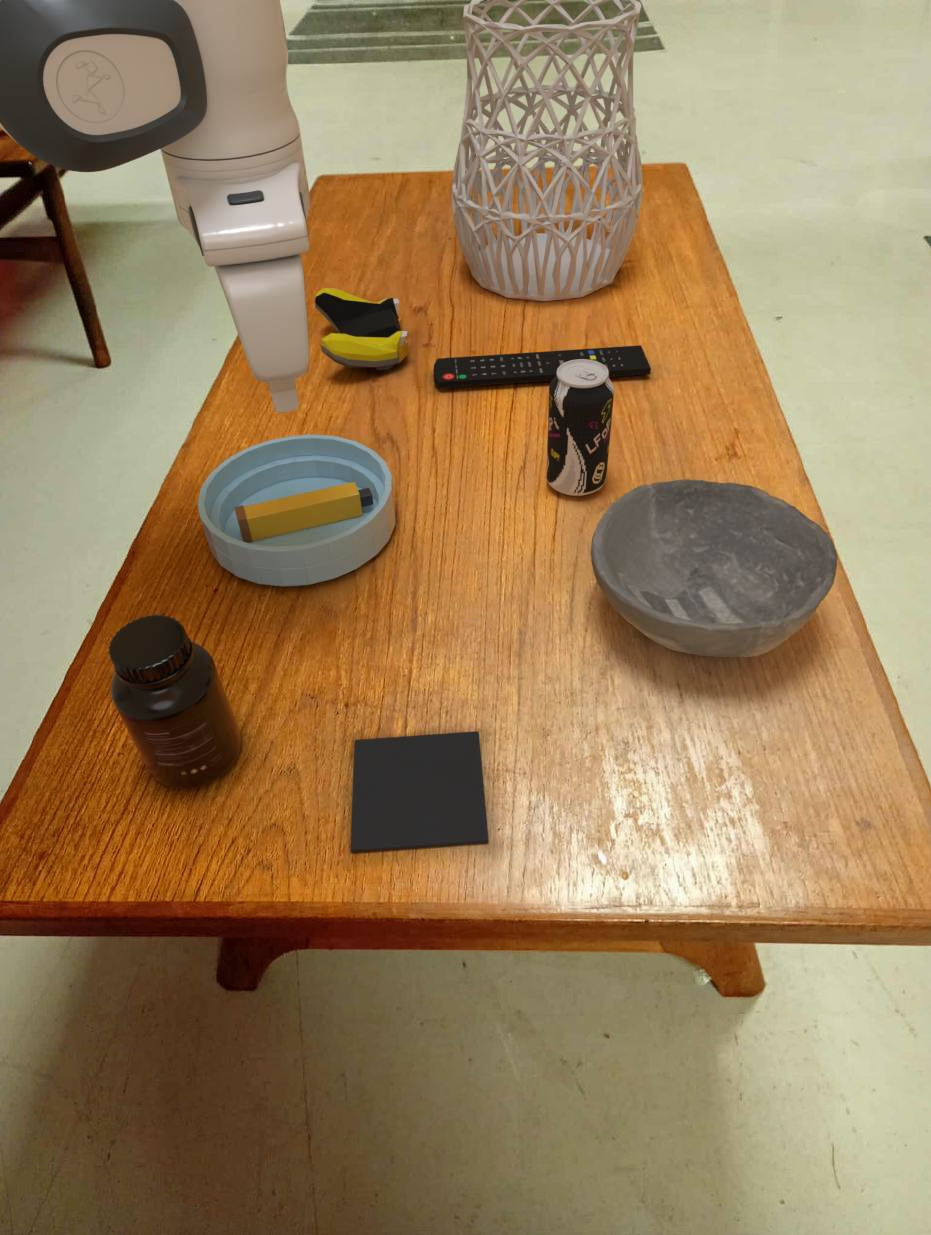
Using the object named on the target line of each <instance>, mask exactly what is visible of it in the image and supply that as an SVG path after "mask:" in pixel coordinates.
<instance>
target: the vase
mask: <svg viewBox="0 0 931 1235" xmlns="http://www.w3.org/2000/svg"><path fill="white" fill-rule="evenodd" d="M541 1H542V2H544V3H547V4H549V5H548V6H547V7H546V8H544V10H542V11H541V12H540V13H539V14H538V15H537V16H536V17H535V18H533V19H532V18H531V17H530V16H529V15H528V14H527V13H526V12H525V11H523V9H522V8H520V6H522V5H523V4H525V3H526V2H528V0H516V1H514V2H511V1H510V0H471V1H470V3H468V4H465V5H463V16H462V18H463V25H464V36H465V37H464V38H465V45H466V46H465V48H466V90H465V100H464V109H463V118H462V125H461V132H460V140H459V144H458V147H457V152H456V157H455V162H454V166H453V174H452V184H451V207H452V215H453V221H454V222H453V223H454V230H455V233H456V235H457V238H458V242H459V246H460V249H461V251H462V254H463V257H464V259H465V261H466V262H465V263H466V264H467V267H468V268H469V270H470V275H471V276H472V277H473V279H474V280H475V281H476V282H477V283H478V285H479V286H480V287H481V288H483V289H486V290H488V291H490V292H492V293H495V294H497V295H500V296H502V297H504V298H507V299H515V300H516V299H517V300H526V301H536V302H552V301H561V300H570V299H579V298H584V297H585V296H587V295H588V296H589V295H590V294H592V293H594V292H597V291H598V290H600V289H602V288H605V287H607V286H609V285H612V283H613V281H614V280H615V277H616V275H617V273H618V271H619V269H620V268H621V266H622V265H623V263H624V261H625V258H626V255H627V253H628V251H629V248H630V246H631V243H632V241H633V239H634V236H635V234H636V232H637V228H638V222H639V217H640V210H641V206H642V201H643V165H642V159H641V153H640V150H639V143H638V142H639V141H638V136H637V132H636V130H637V129H636V128H637V127H636V126H637V118H636V114H635V112H636V110H635V107H634V48H635V47H634V46H635V42H636V41H635V40H636V36H637V31H638V27H639V22H640V15H641V14H640V13H641V9H642V3H641V2H640V1H638V0H623V1H624V2H627V3H628V4H627V5H626V6H625V7H624V5H623V4H622V2H621V0H612V2H613V3H614V4H615V5H616V7H617V8H619V9H620V12H618V14H617V15H616V16H614V17H613V18H607V19H606V18H605V16H604V14H603V12H602V10H601V8H600V7H599V6H602V5H604V4H606V3H608V2H610V1H611V0H594V1H593V0H582V1H583V2H585V3H586V4H588V5H587V7H586V8H585V9H583V11H581V13H580V14H579V15H578V16H577V17H575V19H573V18H572V17H571V16H570V14H569V13H567V11H566V10H565V9H564V7H563V6H562V5H561V4H562V3H564V2H566V1H567V0H541ZM496 3H497V4H500V5H502V6H504V7H506V8H508V9H507V10H506V11H505V13H504V14H503V15H502V17H501V19H500V20H499V22H498V21H493V19H492V18H491V17H489V15H488V14H487V13H488V11H489V10H491V9H492V7H493V6H494V5H495V4H496ZM482 4H485V5H484V7H483V9H481V8H480V7H479V5H482ZM553 9H554V10H555V11H557V13H559V15H560V16H561V17H562V18H563V19H564V20H565V21H566V22H567V23H568V25H566V24H562V23H559V24H558V23H557V24H552V23H551V24H540V23H541V22H542V21H543V20H544V19H545V18H546V17H547V16H548V15H549V14H550V13H551V12H552V10H553ZM630 10H631V11H630ZM592 11H593V12H594V14H595V15H596V16H597V18H598V19H599V20H594V21H586V22H581V21H582V20H583V19H584V18H585V17H586V16H587V15H588V14H590V13H591V12H592ZM473 12H474V13H475V14H476V15H478V16H475V15H473ZM514 12H516V13H517V15H519V16H520V18H522V19H523V20H524V22H526V24H527V25H528V26H522V25H520V24H516V23H511V22H509V23H508V20H509V19H510V18H511V17H512V16H513V14H514ZM623 23H624V24H623ZM594 28H596V29H597V28H600V29H599V30H598V31H597V32H596V33H595V34H594V35H593V34H591V33H590V32H589V31H586V30H587V29H594ZM613 28H616V29H618V30H620V31H621V32H620V33H619V34H618V36H617V38H616V40H615V38H614V34H613V30H612V29H613ZM485 30H486V31H488V33H489V34H490V35H491V38H490V40H489V44H488V47H487V50H486V49H485V47H484V44H483V43H482V42H481V40H480V38H479V34H480V33H482V32H483V31H485ZM502 30H505V31H510V32H508V33H506V34H504V33H503V31H502ZM544 32H545V33H546V32H549V33H550V32H551V33H553V32H554V33H555V34H554V35H551V36H550V37H548V38H547V37H545V36H544V35H543V33H544ZM557 32H558V33H557ZM571 33H572V34H575V37H576V38H577V40H578V42H579V44H580V46H581V47H580V48H578V49H577V51H576V52H575V53H574V54H573V55H572V56H571V57H569V56H568V55H567V54H565V52H563V51H562V49H561V47H562V45H563V44H564V43H565V42H566V39H567V38H568V37H569V35H571ZM521 35H523V37H522V38H521V39H520V40H521V41H520V42H519V43H518V46H517V48H515V46H514V45H513V44H512V43H511V42H510V41H511V40H513V39H515V38H517V37H518V36H521ZM529 37H531V38H534V39H536V40H538V41H540V44H539V45H538V46H537V47H536V48H535V49H534V50H532V52H530V54H528V55H527V56H526V57H525V58H523V56H522V54H520V53H521V51H522V49H523V48H524V46H525V44H526V42H527V40H528V39H529ZM606 37H608V41H609V44H610V50H609V49H608V48H607V47H606V46H605V45H604V44H603V42H604V41H605V39H606ZM624 38H625V40H624V43H623V46H622V48H621V52H620V54H619V51H618V48H619V47H620V45H621V43H622V41H623V39H624ZM555 42H557V43H556V44H555ZM592 45H593V47H592V48H591V50H590V47H591V46H592ZM502 47H503V48H504V49H505V51H506V52H507V54H508V55H509V58H510V60H509V62H508V65H507V68H506V70H505V72H504V75H503V78H502V80H501V79H500V77H499V75H498V72H497V70H496V67H495V66H494V63H493V60H492V58H493V57H495V55H497V53H498V52H499V51H500V50H501V49H502ZM599 50H600V51H601V52H602V53H603V55H605V58H604V60H603V61H602V63H601V65H600V67H599V69H598V68H597V65H596V62H595V59H594V58H595V56H596V54H597V53H598V51H599ZM544 51H546V52H547V54H548V55H549V56H548V58H547V59H546V62H545V64H544V66H543V68H542V70H541V72H540V74H539V76H538V78H537V77H536V75H535V74H534V72H533V71H532V69H531V67H530V66H529V64H530V63H531V62H532V61H533V60H534V59H536V58H537V57H538V56H539V55H540V54H541V53H543V52H544ZM475 54H476V56H477V58H478V61H479V64H480V70H479V71H478V72H479V73H478V72H477V67H476V60H475V57H476V56H475ZM583 54H586V56H587V58H586V60H585V63H584V65H583V68H582V69H581V72H579V71H578V69H577V67H576V65H575V64H574V62H575V61H576V60H577V59H578V58H579V57H581V55H583ZM556 56H557V57H558V58H559V59H560V60H561V61H562V62H563V63H564V65H563V67H562V68H561V66H560V64H559V61H558V59H557V57H556ZM613 58H614V61H613ZM614 62H615V63H614ZM552 63H553V66H554V68H555V70H556V73H557V76H556V78H555V80H554V81H553V83H552V84H543V81H544V79H545V77H546V75H547V73H548V71H549V69H550V67H551V64H552ZM590 66H591V69H592V73H593V75H594V79H593V81H592V83H591V85H590V87H589V86H588V85H587V83H586V81H585V80H584V78H585V77H586V75H587V74H586V73H587V72H588V69H589V67H590ZM608 66H609V69H610V72H611V74H612V79H611V80H612V81H611V84H610V87H609V90H608V91H604V90H605V89H604V86H603V84H602V80H601V79H602V77H603V76H604V74H605V72H606V70H607V69H608ZM513 67H514V69H515V72H514V73H513V75H512V76H511V79H510V80H509V82H508V78H509V76H510V74H511V72H512V69H513ZM488 68H489V70H488ZM489 71H490V73H491V75H492V79H493V80H494V83H495V85H496V87H497V92H495V93H494V91H493V88H492V87H493V86H492V83H491V79H490V75H489ZM524 71H525V72H526V74H527V75H528V77H529V78H530V79H531V81H532V83H533V85H534V86H532V87H529V85H528V83H527V80H526V78H525V76H524ZM568 71H570V72H571V74H572V76H573V78H574V79H575V81H576V83H575V85H574V86H571V85H570V86H569V84H568V81H567V80H566V77H565V76H566V74H567V72H568ZM626 75H627V85H626V80H625V78H626ZM483 79H484V81H485V85H486V89H487V94H484V95H482V96H481V90H480V89H481V86H482V82H483ZM518 81H520V84H521V86H516V87H515V85H516V83H517V82H518ZM507 82H508V83H507ZM506 84H507V85H506ZM615 89H616V90H615ZM614 91H615V92H614ZM509 95H512V96H509ZM537 95H538V96H541V98H540V100H538V101H537V102H535V101H536V98H537ZM565 95H566V99H567V103H566V102H565V101H564V100H562V99H561V98H559V97H561V96H565ZM524 96H525V101H526V104H525V103H524V102H522V101H520V100H519V99H520V98H522V97H524ZM578 97H581V98H583V99H582V100H581V101H578V102H577V98H578ZM601 99H602V101H603V105H604V106H603V105H602V104H601V103H600V102H599V101H598V100H601ZM551 100H552V101H554V102H555V103H556V104H558V105H559V106H560V107H562V108H564V109H565V110H566V113H565V115H563V117H562V118H561V119H560V121H559V120H558V118H557V115H556V113H555V110H554V108H553V105H552V102H551ZM576 102H577V103H576ZM511 104H513V105H514V106H516V107H518V108H520V109H521V110H522V111H524V114H523V115H522V117H521V118H520V119H519V121H518V122H517V123H516V120H515V118H514V114H513V111H512V108H511ZM612 104H613V105H612ZM488 105H489V108H490V110H488V109H487V108H486V107H487V106H488ZM589 105H590V108H591V110H592V112H593V114H594V117H595V119H596V121H597V124H598V127H597V128H596V129H590V130H589V128H588V126H587V125H586V123H585V122H584V117H585V115H586V112H587V109H588V107H589ZM611 108H612V109H611ZM579 109H580V111H579V112H578V110H579ZM503 110H505V111H506V115H507V118H508V122H509V125H510V128H511V131H507V130H505V129H504V128H503V126H502V125H501V123H500V122H499V120H498V117H499V115H500V113H501V112H502V111H503ZM536 110H537V111H536ZM545 110H546V111H547V113H548V115H549V117H550V120H551V122H552V124H553V126H554V128H553V129H552V130H551V131H550V130H549V128H548V127H547V126H546V124H545V123H544V122H543V120H542V117H543V114H544V112H545ZM599 111H600V113H601V114H603V115H604V117H603V119H602V118H601V115H600V113H599ZM619 112H620V114H621V115H622V117H623V118H621V119H620V120H617V121H616V119H617V115H618V113H619ZM484 116H485V117H487V120H486V123H484ZM531 116H532V121H531V123H530V125H529V127H528V129H527V131H526V133H525V134H524V130H525V127H526V124H527V121H528V119H529V117H531ZM572 116H573V118H574V121H575V126H574V128H573V131H572V133H571V134H567V133H568V132H567V131H568V129H569V128H568V127H569V124H570V120H571V117H572ZM477 119H478V122H477V121H476V120H477ZM561 127H562V128H561ZM620 127H622V128H621V129H619V128H620ZM473 128H474V129H475V130H474V129H473ZM540 128H541V130H542V133H543V134H542V133H541V132H540V131H541V130H540ZM499 137H500V138H501V137H502V139H503V140H500V138H499ZM585 138H587V139H585ZM600 139H601V140H600ZM489 140H491V141H492V142H494V144H493V145H491V146H490V147H488V148H487V145H488V143H489ZM624 140H625V141H624ZM542 141H545V142H544V144H543V142H542ZM598 141H600V145H598V144H597V142H598ZM613 142H614V143H613ZM512 144H513V145H514V147H513V146H512ZM575 144H577V145H581V147H580V148H579V149H578V150H573V149H574V146H575ZM528 146H532V147H535V148H536V149H532V150H527V149H528V148H529V147H528ZM592 150H593V151H592ZM494 152H495V155H491V154H493V153H494ZM615 154H616V155H615ZM490 155H491V156H490ZM487 156H488V157H487ZM486 157H487V158H486ZM535 158H538V159H537V161H536V162H535V163H534V164H533V165H532V166H531V167H530V168H528V167H527V165H526V164H528V163H529V162H532V160H534V159H535ZM579 159H581V160H582V163H581V165H580V166H578V167H577V168H576V166H575V165H574V164H575V163H576V162H577V161H578V160H579ZM548 162H551V163H554V165H553V172H552V178H551V182H550V184H549V185H548V186H547V174H546V173H547V172H546V163H548ZM489 164H495V165H494V167H493V169H492V171H491V169H490V167H489ZM591 165H594V166H595V167H597V170H596V174H595V178H594V182H593V186H592V189H591V187H590V166H591ZM505 166H510V170H509V172H507V174H506V176H504V173H503V168H504V167H505ZM610 169H611V172H612V175H613V177H612V178H611V177H610V176H609V172H610ZM534 172H535V173H534ZM533 173H534V176H533V175H532V174H533ZM520 174H521V175H520ZM540 174H541V181H542V182H541V183H542V190H541V188H540V187H539V185H538V183H539V178H540ZM566 174H567V175H568V176H567V178H566ZM565 178H566V179H565ZM571 182H572V186H573V191H574V194H573V198H572V205H571V210H570V214H565V211H566V191H567V189H568V187H569V186H570V183H571ZM498 183H499V185H498ZM515 184H516V189H517V209H518V210H517V211H518V213H516V212H515V213H514V208H513V202H514V201H513V200H514V186H515ZM613 184H614V185H613ZM506 186H507V187H506ZM581 187H583V189H584V200H583V196H582V191H581ZM599 188H600V198H599V200H598V199H597V194H598V189H599ZM472 191H473V193H472ZM488 192H489V193H490V194H491V195H492V196H491V197H492V198H491V199H490V202H488V201H489V200H488ZM472 194H473V195H472ZM608 194H609V200H610V203H609V205H606V197H607V195H608ZM499 195H501V200H502V205H501V202H500V199H499ZM479 199H480V203H481V205H480V204H479ZM538 199H539V202H538ZM616 199H617V201H616ZM525 202H526V203H525ZM526 207H527V211H526ZM542 210H543V213H541V212H542ZM470 213H471V214H470ZM557 213H558V214H557ZM471 216H472V217H471ZM604 217H605V218H604ZM472 219H473V220H472ZM515 219H517V220H519V222H520V226H521V232H522V233H521V234H519V235H515V224H514V223H515V222H514V220H515ZM505 221H506V223H505ZM567 221H569V222H568V228H567V229H566V230H565V222H567ZM576 221H580V223H579V226H578V227H577V228H575V230H574V231H573V229H574V224H575V223H576ZM493 224H494V225H495V228H496V233H497V234H496V236H495V234H494V231H493V226H492V225H493ZM528 224H529V225H528ZM556 224H558V229H557V227H556ZM591 224H593V231H592V234H591V237H590V238H587V236H588V233H587V231H588V230H587V229H588V227H589V226H590V225H591ZM506 225H507V226H506ZM610 225H611V226H610ZM542 229H543V230H544V233H542V232H539V233H538V232H537V231H539V230H542ZM572 231H573V232H572ZM607 232H608V234H607ZM606 234H607V235H606ZM486 242H487V243H486Z"/></svg>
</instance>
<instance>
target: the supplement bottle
mask: <svg viewBox="0 0 931 1235" xmlns="http://www.w3.org/2000/svg"><path fill="white" fill-rule="evenodd" d="M108 656H109V658H110V661H111V663H112V665H113V669H114V674H113V676H112V679H111V684H110V696H111V699H112V702H113V705H114V707H115V709H116V711H117V713H118V714H119V717H120V718H121V720H122V722H123V724H124V726H125V728H126V730H127V732H128V734H129V736H130V738H131V740H132V742H133V744H134V746H135V748H136V749H137V752H138V753H139V755H140V757H141V760H142V761H143V763H144V765H145V767H146V768H147V770H148V772H149V774H150V775H151V776H152V777H153V778H154V780H156V781H157V782H158V783H160V784H161V785H163V786H165V787H168V788H172V789H177V790H178V789H179V790H189V789H196V788H201V787H205V786H207V785H209V784H211V783H213V782H214V781H216V780H218V779H219V778H221V777H222V776H223V775H225V773H227V772H228V771H229V770H230V769H231V768H232V766H233V765H234V764H235V762H236V759H237V758H238V757H239V754H240V751H241V745H242V737H241V732H240V729H239V726H238V722H237V719H236V717H235V714H234V711H233V709H232V706H231V703H230V700H229V698H228V695H227V692H226V689H225V687H224V684H223V682H222V678H221V676H220V673H219V670H218V668H217V665H216V662H215V660H214V658H213V657H212V656H211V654H210V653H209V651H208V650H207V649H206V648H204V647H203V646H202V645H200V644H198V643H196V642H194V641H192V640H191V638H190V637H189V636H188V632H187V631H186V629H185V627H184V625H183V624H182V623H181V622H180V621H179V620H177V619H176V618H175V617H171V616H169V615H165V614H153V615H150V614H148V615H145V616H140V617H138V618H136V619H132V621H130V622H128V623H126V624H125V625H124V626H121V627H120V628H119V630H117V631H116V632H115V635H113V636H112V637H111V640H110V642H109V646H108Z"/></svg>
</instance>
